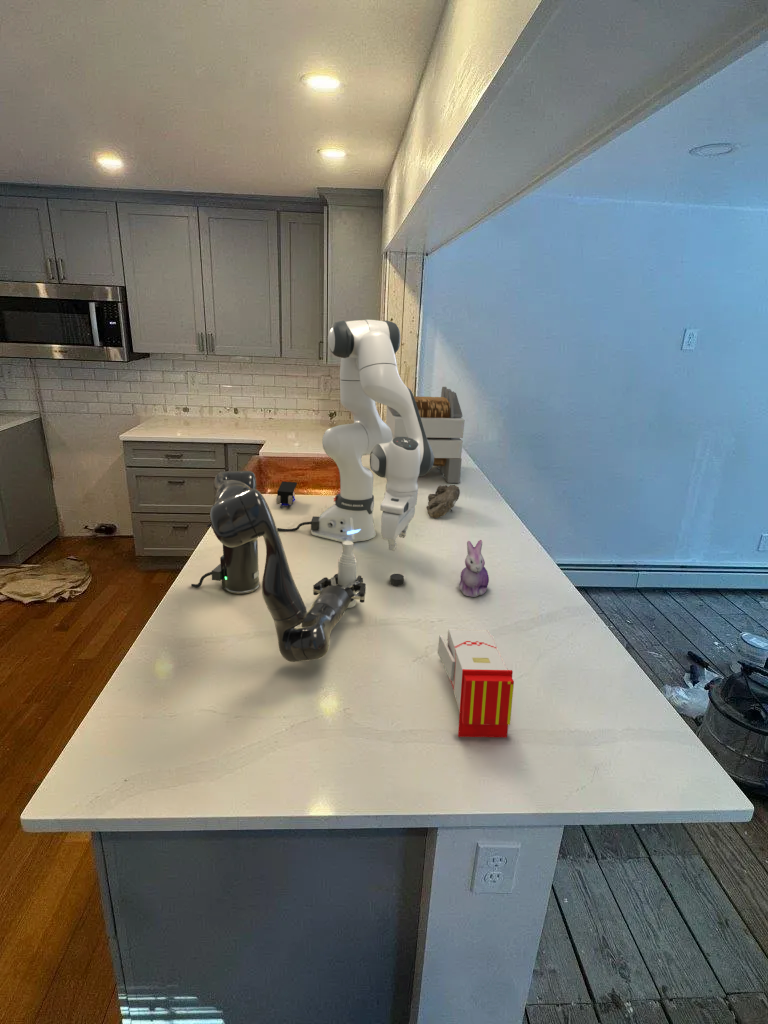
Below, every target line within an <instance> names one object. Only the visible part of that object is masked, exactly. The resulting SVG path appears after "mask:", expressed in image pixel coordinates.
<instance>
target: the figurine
mask: <svg viewBox="0 0 768 1024" xmlns="http://www.w3.org/2000/svg"><path fill="white" fill-rule="evenodd" d="M482 548H483V540H482V539H479V540H478V541H477V543H476V544H475V546H474V544H473V543H472V542H471V541H470V540H467V542H466V550H467V555H466V557H465V559H464V565H465V566H464V568H463V569H462V570H461V572H460V581H459V590H460V591H461V593H462V595H463V596H466V597H472V598H473V597H474V598H477V597H478V596H483V595H484V594H485V593H486V592H487V590H488V586H489V583H490V577H489V573H488V571H487V568H486V567H485V565H486V561H485V558H484V556H483V553H482Z"/></svg>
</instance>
